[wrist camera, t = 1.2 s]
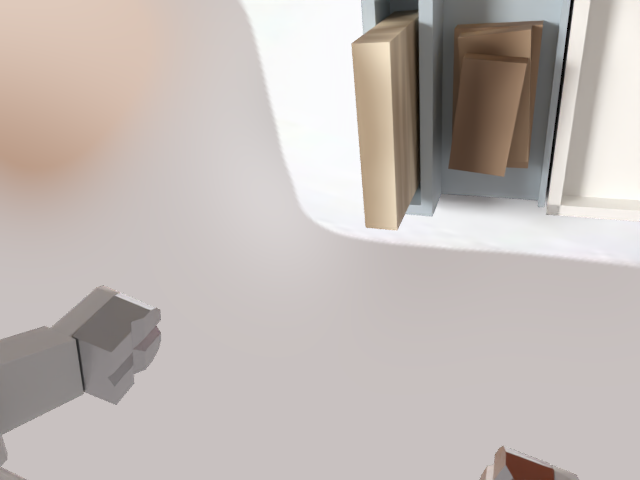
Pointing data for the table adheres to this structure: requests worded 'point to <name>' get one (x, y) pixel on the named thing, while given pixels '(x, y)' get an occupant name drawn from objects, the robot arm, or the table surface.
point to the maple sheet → (388, 117)
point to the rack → (437, 94)
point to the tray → (599, 115)
